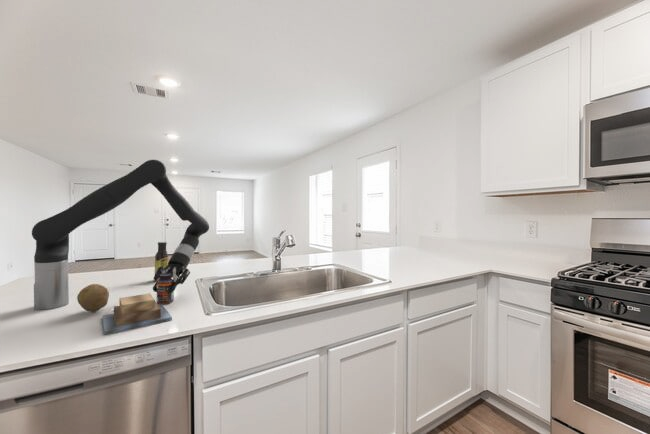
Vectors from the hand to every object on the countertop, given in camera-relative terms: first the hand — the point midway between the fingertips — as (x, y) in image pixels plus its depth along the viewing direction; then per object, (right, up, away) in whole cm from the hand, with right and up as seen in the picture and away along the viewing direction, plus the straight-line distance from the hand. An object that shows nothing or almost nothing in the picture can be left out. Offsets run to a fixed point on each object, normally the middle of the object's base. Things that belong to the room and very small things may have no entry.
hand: (162, 291), depth 111 cm
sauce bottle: (-21, -4, +36) cm, 42 cm away
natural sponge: (-20, -5, -9) cm, 22 cm away
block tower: (0, -5, -15) cm, 16 cm away
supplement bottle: (0, -5, +2) cm, 5 cm away
